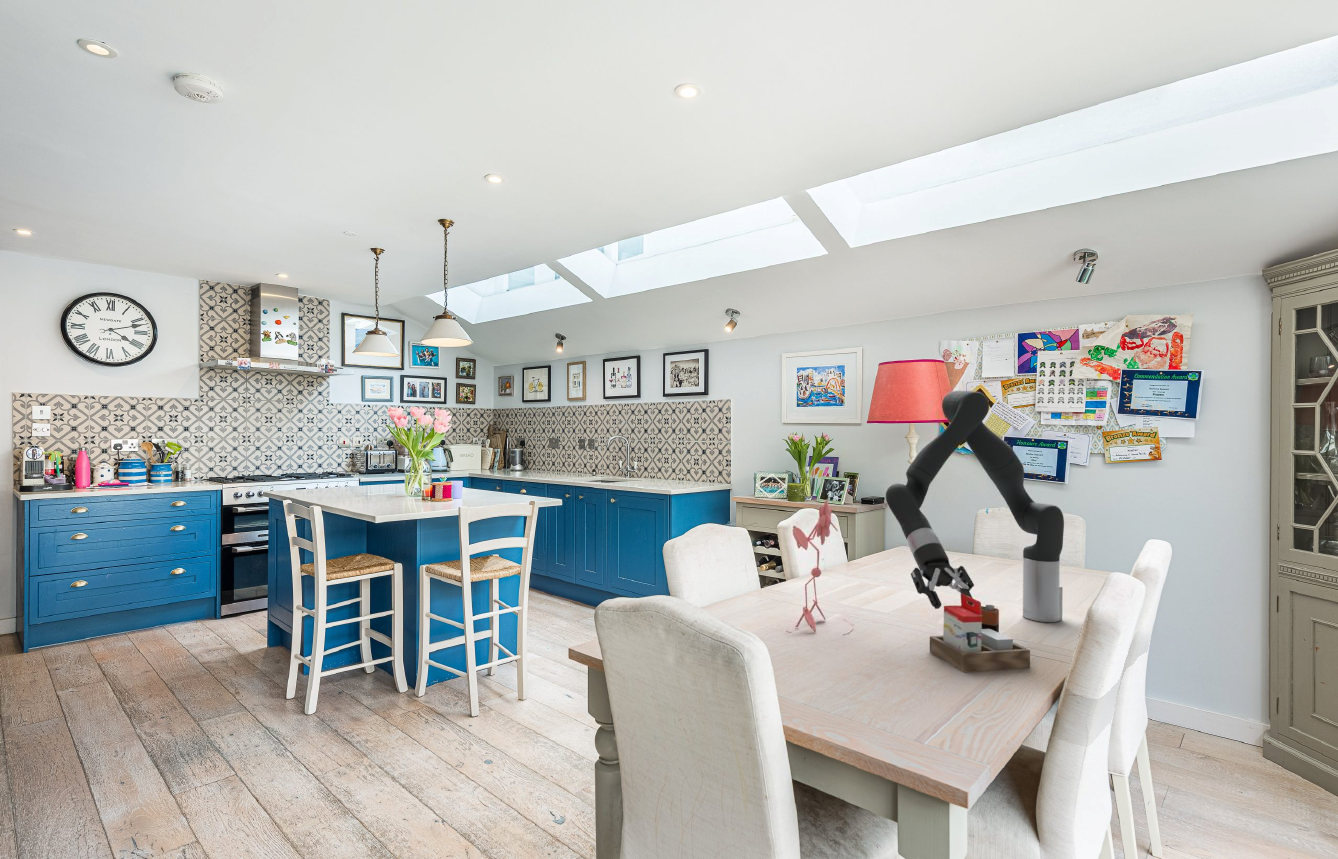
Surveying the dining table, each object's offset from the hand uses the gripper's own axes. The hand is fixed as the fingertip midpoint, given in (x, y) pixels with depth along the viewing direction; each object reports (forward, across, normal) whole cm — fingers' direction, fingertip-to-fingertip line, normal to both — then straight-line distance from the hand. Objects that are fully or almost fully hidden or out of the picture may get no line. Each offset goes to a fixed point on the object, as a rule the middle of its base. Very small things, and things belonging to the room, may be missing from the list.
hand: (954, 606), depth 156 cm
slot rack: (+11, +4, +6) cm, 13 cm away
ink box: (+10, 0, +7) cm, 12 cm away
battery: (+4, +13, +13) cm, 19 cm away
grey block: (+11, +8, +6) cm, 15 cm away
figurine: (-10, -21, +27) cm, 36 cm away
